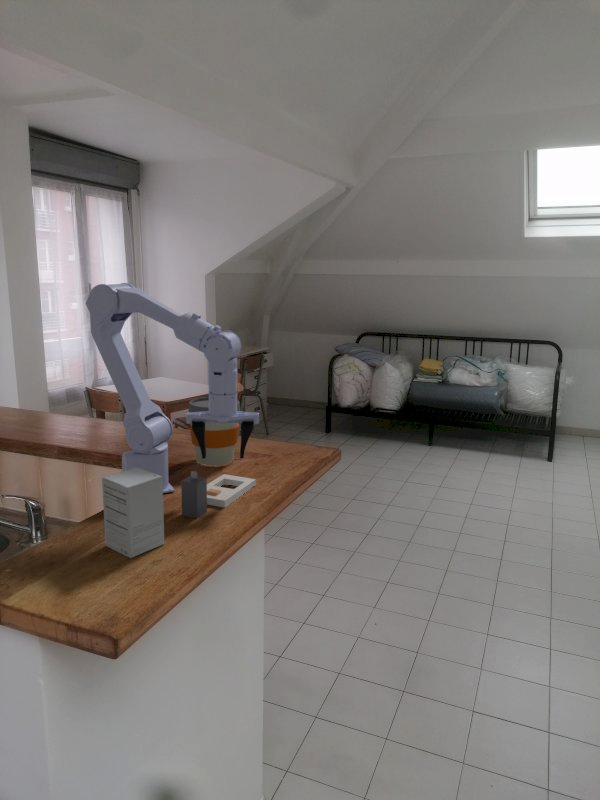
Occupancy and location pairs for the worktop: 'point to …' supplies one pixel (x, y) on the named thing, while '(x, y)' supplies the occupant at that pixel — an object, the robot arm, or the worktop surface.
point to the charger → (194, 495)
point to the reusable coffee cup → (214, 436)
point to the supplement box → (133, 511)
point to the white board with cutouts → (227, 489)
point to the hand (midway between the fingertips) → (223, 457)
